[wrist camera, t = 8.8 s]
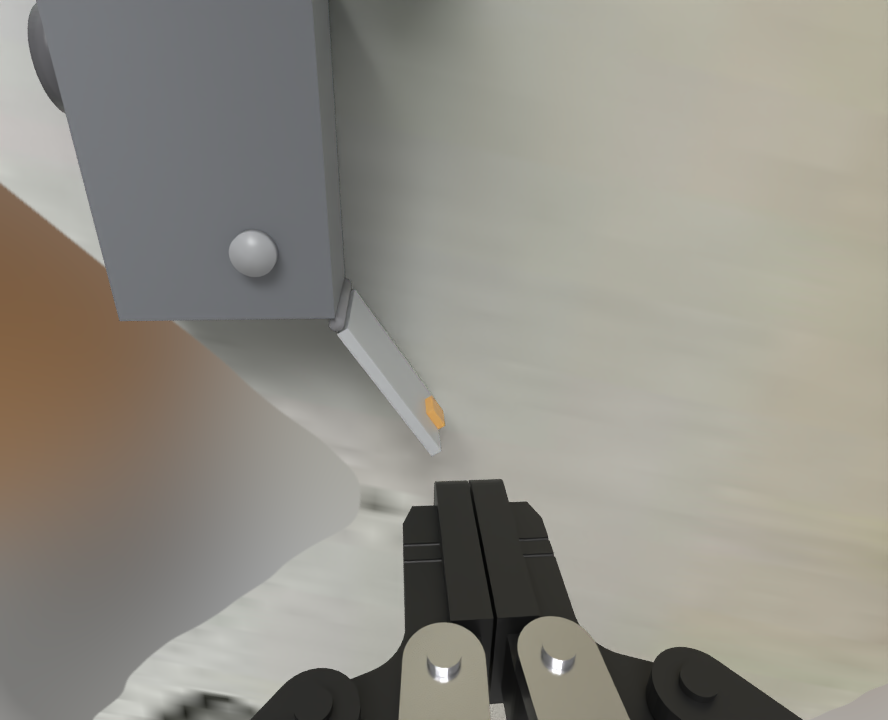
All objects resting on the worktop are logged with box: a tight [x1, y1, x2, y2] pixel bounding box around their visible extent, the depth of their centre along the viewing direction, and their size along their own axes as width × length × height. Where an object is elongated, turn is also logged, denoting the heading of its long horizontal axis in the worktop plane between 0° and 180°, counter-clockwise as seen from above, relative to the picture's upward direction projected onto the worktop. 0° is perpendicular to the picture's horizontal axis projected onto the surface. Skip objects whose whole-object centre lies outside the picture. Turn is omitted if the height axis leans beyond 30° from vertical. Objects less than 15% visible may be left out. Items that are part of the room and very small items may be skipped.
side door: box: [329, 278, 445, 456], centre depth 39 cm, size 2×12×7 cm, turn 31°
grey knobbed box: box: [28, 0, 345, 321], centre depth 31 cm, size 18×14×9 cm
